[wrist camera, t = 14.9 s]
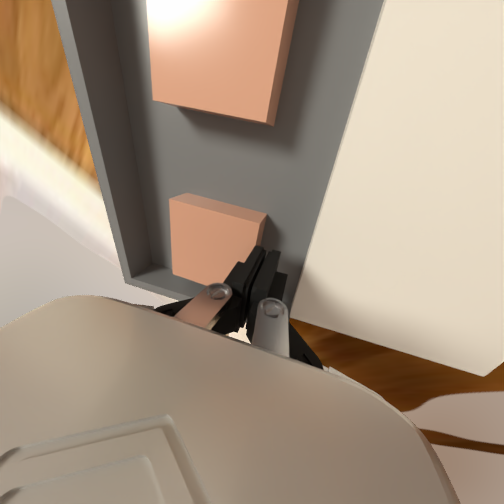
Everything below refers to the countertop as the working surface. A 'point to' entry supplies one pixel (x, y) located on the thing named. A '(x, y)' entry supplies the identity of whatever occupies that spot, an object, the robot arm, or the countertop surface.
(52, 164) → the countertop surface
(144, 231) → the tray
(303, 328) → the countertop surface
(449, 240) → the plate
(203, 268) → the tile
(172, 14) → the tile
